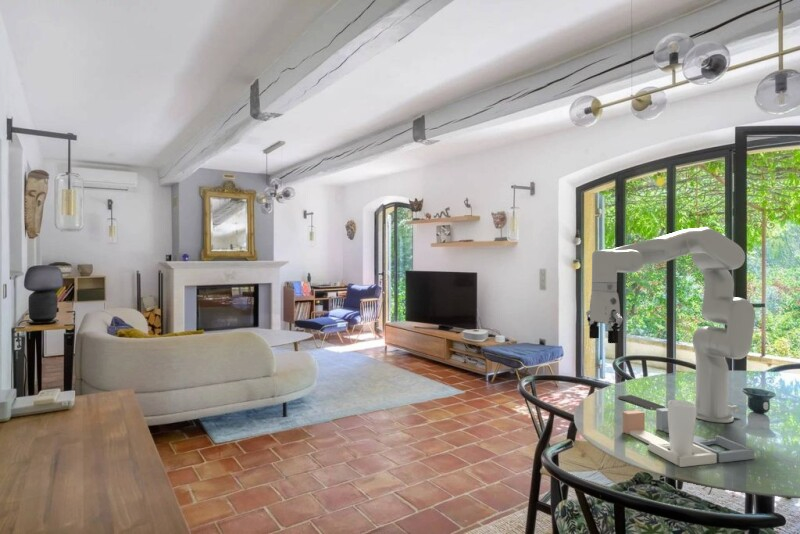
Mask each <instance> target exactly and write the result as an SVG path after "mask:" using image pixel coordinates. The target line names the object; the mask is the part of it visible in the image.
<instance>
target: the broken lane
mask: <svg viewBox="0 0 800 534" xmlns="http://www.w3.org/2000/svg"><path fill="white" fill-rule="evenodd" d="M655 411H656V415H655V416H656V417H655V419H656V420H655V421H656V422H655V426H656V427H655V429H657V430H658V431H661V432H664V433H667V434H669V427H668V407H665V408H661V409H656V410H655ZM693 444H695V445H698V446H700V447H702V448H704V449H706V450H709V451H711V452H713V453H715V454H717V462H718V463H729V462H737V461H746V460H747V461H748V460H754V459H755V449H753V448H751V447H747V446H745V445H743V444H740V443H738V442H736V441H733V440H731V439H728V438H726V437H724V436H721V435H719V434H718V435H717V434H716V435H715V438H712V439H706V438H703V437H701V436H699V435H694V441H693ZM710 445H718V446H720V447H722V448H724V449H727V450H723V451H722V450H721V451H719V450H716V449H714V448H712V447H709V446H710Z"/></svg>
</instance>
